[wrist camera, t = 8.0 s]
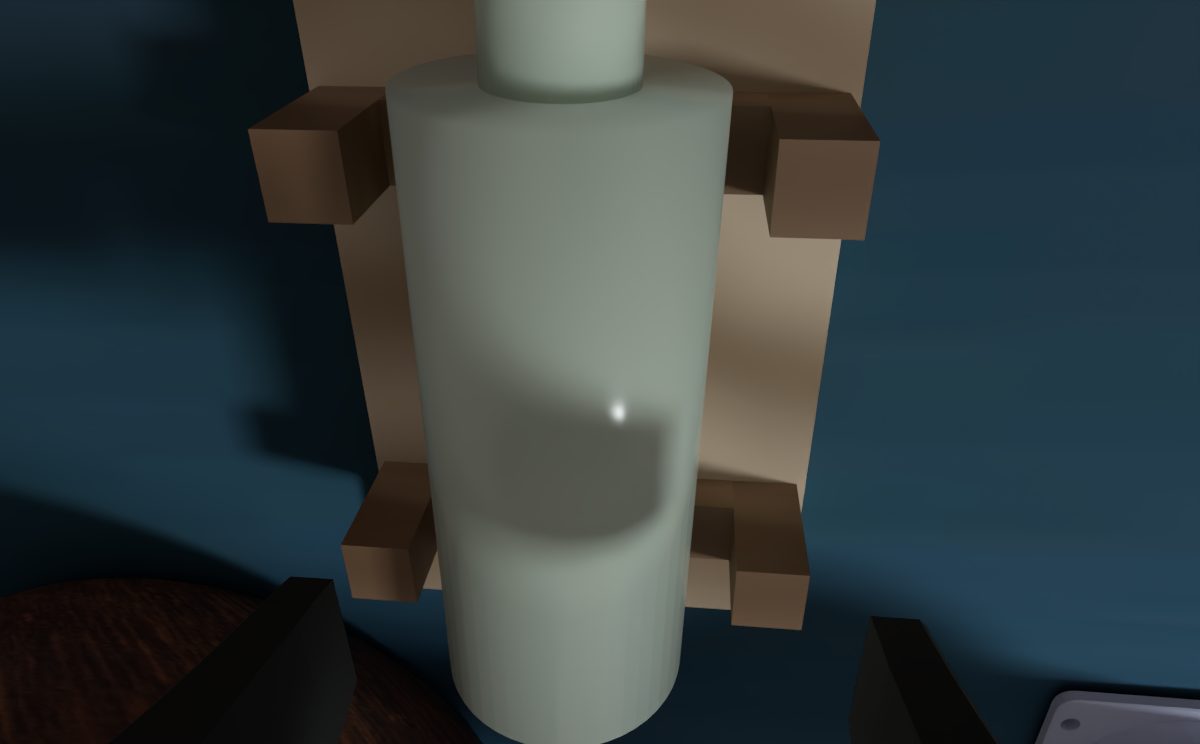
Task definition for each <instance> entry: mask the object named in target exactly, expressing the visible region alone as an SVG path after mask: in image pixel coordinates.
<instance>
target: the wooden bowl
mask: <svg viewBox="0 0 1200 744" xmlns="http://www.w3.org/2000/svg"><path fill="white" fill-rule="evenodd" d="M265 600H266V599H262V598H259V597H255V596H252V595H249V594H245V593H241V592H237V591H232V590H228V589H223V588H219V587H215V586H209V585H203V584H196V583H190V582H184V581H174V580H162V579H148V578H97V579H83V580H73V581H66V582H60V583H54V584H48V585H44V586H41V587H37V588H33V589H29V590H26V591H22V592H18V593H15V594H11V595H8V596H4V597H1V598H0V744H108V743H109V742H110V741H111V740H112V739H114V738H115V737H116V736H117V735H118V734H120V733H121V732H122V731H123V730H124V729H125V728H127V727H128V726H129V725H130V724H131V723H132V722H134V721H135V720H136V719H137V718H138V717H139V716H141V715H142V714H143V713H144V712H145V711H146V710H148V709H149V708H150V707H151V706H152V705H153V704H154V703H155V702H157V701H158V700H159V699H160V698H161V697H162V696H163V695H164V694H165V693H166V692H168V691H169V690H170V689H171V688H172V687H173V686H174V685H175V684H176V683H177V682H178V681H180V680H181V679H182V678H183V677H184V676H185V675H186V674H187V673H188V672H189V671H190V670H192V669H193V668H194V667H195V666H196V665H197V664H198V663H199V662H200V661H201V660H202V659H204V658H205V657H206V656H207V655H208V654H209V653H210V652H211V651H212V650H213V649H214V648H215V647H216V646H217V645H218V644H219V643H221V642H222V641H223V640H224V639H225V638H226V637H227V636H228V635H229V634H230V633H231V632H232V631H233V630H234V629H235V628H236V627H237V626H238V625H239V624H240V623H242V622H243V621H244V620H245V619H246V618H247V617H248V616H249V615H250V614H251V613H252V612H253V611H254V610H255V609H256V608H257V607H258V606H259V605H260V604H261V603H262V602H264V601H265ZM346 636H347V640H348V644H349V648H350V653H351V657H352V661H353V665H354V669H355V673H356V677H357V682H356V685H355V689H354V692H353V696H352V699H351V703H350V706H349V709H348V713H347V716H346V720H345V723H344V726H343V729H342V732H341V736H340V739H339V742H338V744H482V742H481V741H480V739H479V738H478V737H477V736H476V734H475V733H474V732H473V731H472V730H471V729H470V727H469V726H468V725H467V724H466V723H465V722H464V721H463V719H462V718H461V717H460V716H459V715H458V714H457V713H456V712H455V711H454V710H453V709H452V708H451V707H450V706H449V705H448V704H447V703H446V702H445V701H444V700H443V699H442V698H441V697H440V696H439V695H438V694H437V693H436V692H435V691H434V690H433V689H431V688H430V687H429V686H428V685H427V684H425V683H424V682H423V681H422V680H420V679H419V678H418V677H417V676H416V675H414V674H413V673H412V672H410V671H409V670H408V669H406V668H405V667H403V666H402V665H400V664H399V663H398V662H396V661H395V660H393V659H392V658H391V657H389V656H387V655H386V654H384V653H383V652H381V651H379V650H378V649H376V648H374V647H373V646H371V645H369V644H368V643H366V642H364V641H363V640H361V639H359V638H357V637H355V636H353V635H351V634H349V633H347V632H346Z"/></svg>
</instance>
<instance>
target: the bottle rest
mask: <svg viewBox="0 0 1200 744" xmlns="http://www.w3.org/2000/svg"><path fill="white" fill-rule="evenodd" d="M293 4H294V9H295V15H296V20H297V26H298V31H299V37H300V42H301V47H302V53H303V58H304V64H305V69H306V75H307V80H308V86H309V92H308V93H306V94H304V95H303V96H301V97H299V98H298V99H296V100H294V101H293V102H291V103H290V104H288V105H286V106H285V107H283V108H281V109H280V110H278V111H276V112H275V113H273V114H271V115H270V116H268V117H267V118H265V119H263V120H262V121H260V122H258V123H257V124H255V125H253V126H252V127H250V128H249V129H248V133H249V137H250V142H251V146H252V151H253V155H254V160H255V164H256V169H257V173H258V177H259V182H260V186H261V191H262V195H263V200H264V204H265V209H266V213H267V218H268V222H273V223H306V224H334V229H335V234H336V239H337V245H338V250H339V256H340V261H341V267H342V272H343V278H344V283H345V289H346V294H347V300H348V305H349V311H350V316H351V322H352V327H353V333H354V338H355V344H356V349H357V355H358V360H359V366H360V371H361V377H362V382H363V388H364V393H365V399H366V404H367V410H368V415H369V421H370V426H371V431H372V437H373V442H374V448H375V453H376V459H377V464H378V470H379V473H378V475H377V477H376V479H375V481H374V483H373V484H372V486H371V488H370V490H369V492H368V494H367V496H366V498H365V500H364V502H363V504H362V505H361V507H360V509H359V511H358V513H357V515H356V517H355V519H354V521H353V523H352V525H351V527H350V528H349V530H348V532H347V534H346V536H345V538H344V540H343V542H342V544H341V548H342V552H343V557H344V561H345V566H346V570H347V575H348V579H349V584H350V588H351V593H352V597H353V598H361V599H375V600H389V601H403V602H416V603H417V602H418V599H419V597H420V594H421V591H422V589H423V588H425V589H439V590H442V586H441V577H440V568H439V560H438V551H437V542H436V533H435V524H434V516H433V507H432V498H431V489H430V480H429V472H428V463H427V454H426V445H425V436H424V428H423V419H422V410H421V401H420V392H419V384H418V375H417V366H416V357H415V348H414V340H413V331H412V322H411V313H410V304H409V296H408V287H407V278H406V269H405V261H404V252H403V243H402V234H401V225H400V217H399V208H398V199H397V190H396V181H395V173H394V164H393V155H392V146H391V137H390V129H389V120H388V111H387V102H386V93H385V88H386V84H387V83H388V81H389V80H390V79H391V78H392V77H394V76H395V75H396V74H398V73H400V72H402V71H404V70H406V69H409V68H411V67H414V66H417V65H420V64H424V63H427V62H431V61H435V60H439V59H444V58H449V57H455V56H460V55H468V54H475V53H476V46H475V28H474V11H473V0H293ZM875 4H876V0H646V20H645V45H644V55H650V56H657V57H663V58H668V59H673V60H678V61H682V62H686V63H690V64H693V65H696V66H699V67H703V68H705V69H708V70H710V71H713V72H715V73H717V74H719V75H720V76H722V77H724V78H725V79H726V80H727V81H729V83H730V84H731V86H732V88H733V100H732V110H731V121H730V132H729V142H728V153H727V164H726V174H725V185H724V196H723V206H722V217H721V228H720V238H719V249H718V260H717V270H716V281H715V291H714V302H713V313H712V323H711V334H710V345H709V355H708V366H707V377H706V387H705V398H704V409H703V419H702V430H701V441H700V451H699V462H698V473H697V483H696V494H695V504H694V515H693V526H692V536H691V547H690V558H689V568H688V579H687V590H686V600H685V607H696V608H710V609H724V610H731V625H737V626H751V627H765V628H778V629H792V630H802V623H803V617H804V611H805V605H806V599H807V592H808V586H809V580H810V571H809V565H808V558H807V551H806V544H805V537H804V531H803V524H802V517H801V511H802V504H803V497H804V490H805V483H806V476H807V470H808V463H809V456H810V449H811V442H812V435H813V429H814V422H815V415H816V408H817V401H818V394H819V388H820V381H821V374H822V367H823V360H824V353H825V346H826V340H827V333H828V326H829V319H830V312H831V305H832V299H833V292H834V285H835V278H836V271H837V264H838V257H839V251H840V244H841V239H843V240H864V239H865V233H866V227H867V220H868V214H869V208H870V202H871V196H872V189H873V183H874V177H875V171H876V165H877V158H878V152H879V146H880V140H879V138H878V137H877V135H876V133H875V132H874V130H873V128H872V127H871V125H870V124H869V122H868V120H867V119H866V117H865V115H864V114H863V112H862V110H861V109H860V107H861V100H862V93H863V86H864V80H865V73H866V66H867V59H868V52H869V45H870V38H871V32H872V25H873V18H874V11H875Z"/></svg>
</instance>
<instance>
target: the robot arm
mask: <svg viewBox="0 0 1200 744" xmlns="http://www.w3.org/2000/svg"><path fill="white" fill-rule="evenodd" d="M356 682H357V677H356V673H355V669H354V665H353V661H352V657H351V653H350V648H349V644H348V640H347V636H346V632H345V628H344V624H343V619H342V615H341V611H340V607H339V603H338V599H337V595H336V591H335V586H334V582H333V579H319V578H304V577H290V578H288V579H287V580H286V581H285V582H284V583H283V584H282V585H281V586H280V587H279V588H277V589H276V590H275V591H274V592H273V593H272V594H271V595H270V596H269V597H268V598H267V599H266V600H265V601H264V602H262V603H261V604H260V605H259V606H258V607H257V608H256V609H255V610H254V611H253V612H252V613H251V614H250V615H249V616H248V617H247V618H246V619H245V620H244V621H243V622H242V623H240V624H239V625H238V626H237V627H236V628H235V629H234V630H233V631H232V632H231V633H230V634H229V635H228V636H227V637H226V638H225V639H224V640H223V641H222V642H221V643H219V644H218V645H217V646H216V647H215V648H214V649H213V650H212V651H211V652H210V653H209V654H208V655H207V656H206V657H205V658H204V659H202V660H201V661H200V662H199V663H198V664H197V665H196V666H195V667H194V668H193V669H192V670H190V671H189V672H188V673H187V674H186V675H185V676H184V677H183V678H182V679H181V680H180V681H178V682H177V683H176V684H175V685H174V686H173V687H172V688H171V689H170V690H169V691H168V692H166V693H165V694H164V695H163V696H162V697H161V698H160V699H159V700H158V701H157V702H155V703H154V704H153V705H152V706H151V707H150V708H149V709H148V710H146V711H145V712H144V713H143V714H142V715H141V716H139V717H138V718H137V719H136V720H135V721H134V722H132V723H131V724H130V725H129V726H128V727H127V728H125V729H124V730H123V731H122V732H121V733H120V734H118V735H117V736H116V737H115V738H114V739H112V740H111V741H110V742H109V743H108V744H338V742H339V739H340V736H341V732H342V729H343V726H344V723H345V720H346V716H347V713H348V709H349V706H350V703H351V699H352V696H353V692H354V689H355V685H356ZM849 725H850V736H851V744H1000V743H999V742H998V740H997V739H996V737H995V736H994V734H993V733H992V731H991V730H990V728H989V727H988V725H987V724H986V722H985V721H984V719H983V718H982V716H981V715H980V713H979V712H978V710H977V709H976V707H975V705H974V704H973V702H972V701H971V699H970V698H969V696H968V695H967V693H966V691H965V690H964V688H963V687H962V685H961V684H960V682H959V680H958V679H957V677H956V676H955V674H954V672H953V671H952V669H951V667H950V666H949V664H948V662H947V661H946V659H945V658H944V656H943V654H942V653H941V651H940V649H939V647H938V646H937V644H936V642H935V641H934V639H933V637H932V636H931V634H930V632H929V630H928V629H927V627H926V626H925V625H924V624H923V623H922V622H921V621H920V620H919V619H904V618H890V617H875V616H871V617H870V621H869V626H868V631H867V636H866V640H865V645H864V650H863V655H862V659H861V664H860V669H859V674H858V678H857V683H856V688H855V693H854V697H853V702H852V707H851V712H850V716H849ZM1035 744H1200V700H1192V699H1179V698H1166V697H1153V696H1139V695H1126V694H1113V693H1100V692H1087V691H1066V692H1062V693H1060V694H1059V695H1057V696H1056V697H1055V698H1054V699H1053V701H1052V703H1051V705H1050V708H1049V710H1048V713H1047V715H1046V718H1045V720H1044V723H1043V725H1042V728H1041V730H1040V733H1039V735H1038V737H1037V740H1036V742H1035Z"/></svg>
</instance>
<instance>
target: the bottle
mask: <svg viewBox="0 0 1200 744" xmlns="http://www.w3.org/2000/svg"><path fill="white" fill-rule="evenodd" d="M473 11H474V28H475V46H476V53H475V54H468V55H460V56H455V57H449V58H444V59H439V60H435V61H431V62H427V63H424V64H420V65H417V66H414V67H411V68H409V69H406V70H404V71H402V72H400V73H398V74H396V75H395V76H394V77H392V78H391V79H390V80H389V81H388V83H387V84H386V88H385V93H386V102H387V111H388V120H389V129H390V137H391V146H392V155H393V164H394V173H395V181H396V190H397V199H398V208H399V217H400V225H401V234H402V243H403V252H404V261H405V269H406V278H407V287H408V296H409V304H410V313H411V322H412V331H413V340H414V348H415V357H416V366H417V375H418V384H419V392H420V401H421V410H422V419H423V428H424V436H425V445H426V454H427V463H428V472H429V480H430V489H431V498H432V507H433V516H434V524H435V533H436V542H437V551H438V560H439V568H440V577H441V586H442V595H443V604H444V612H445V621H446V630H447V639H448V648H449V656H450V665H451V671H452V676H453V680H454V683H455V686H456V688H457V691H458V693H459V695H460V696H461V698H462V700H463V702H464V703H465V704H466V706H467V707H468V708H469V709H470V711H471V712H472V713H473V714H474V715H475V716H476V717H477V718H478V719H479V720H481V721H482V722H483V723H484V724H486V725H487V726H488V727H490V728H491V729H493V730H494V731H496V732H498V733H500V734H502V735H504V736H506V737H508V738H510V739H512V740H515V741H518V742H521V743H524V744H601V743H605V742H608V741H611V740H613V739H616V738H618V737H621V736H623V735H625V734H626V733H628V732H630V731H632V730H634V729H636V728H637V727H638V726H640V725H641V724H642V723H644V722H645V721H646V720H648V719H649V718H650V717H651V716H652V715H653V714H654V713H655V712H656V711H657V710H658V709H659V708H660V706H661V705H662V704H663V702H664V701H665V700H666V699H667V697H668V695H669V693H670V691H671V690H672V688H673V685H674V683H675V680H676V677H677V674H678V669H679V663H680V654H681V643H682V632H683V622H684V611H685V600H686V590H687V579H688V568H689V558H690V547H691V536H692V526H693V515H694V504H695V494H696V483H697V473H698V462H699V451H700V441H701V430H702V419H703V409H704V398H705V387H706V377H707V366H708V355H709V345H710V334H711V323H712V313H713V302H714V291H715V281H716V270H717V260H718V249H719V238H720V228H721V217H722V206H723V196H724V185H725V174H726V164H727V153H728V142H729V132H730V121H731V110H732V100H733V88H732V86H731V84H730V83H729V81H727V80H726V79H725V78H724V77H722V76H720V75H719V74H717V73H715V72H713V71H710V70H708V69H705V68H703V67H699V66H696V65H693V64H690V63H686V62H682V61H678V60H673V59H668V58H663V57H657V56H650V55H644V45H645V20H646V0H473Z"/></svg>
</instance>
